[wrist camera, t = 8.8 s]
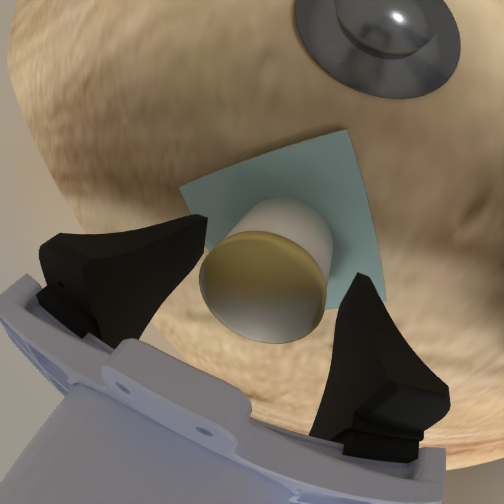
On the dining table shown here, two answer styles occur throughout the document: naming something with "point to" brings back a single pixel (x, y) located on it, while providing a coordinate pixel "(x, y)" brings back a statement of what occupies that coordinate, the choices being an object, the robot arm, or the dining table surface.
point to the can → (270, 272)
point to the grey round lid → (382, 43)
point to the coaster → (307, 190)
